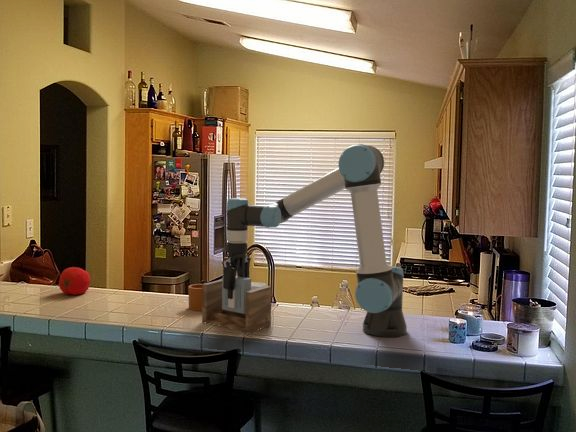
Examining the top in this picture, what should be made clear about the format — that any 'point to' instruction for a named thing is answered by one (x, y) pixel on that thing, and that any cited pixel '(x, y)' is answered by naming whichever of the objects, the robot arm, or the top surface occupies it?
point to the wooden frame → (247, 322)
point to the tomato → (74, 281)
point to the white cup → (257, 285)
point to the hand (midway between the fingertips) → (236, 305)
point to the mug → (195, 297)
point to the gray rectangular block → (237, 295)
